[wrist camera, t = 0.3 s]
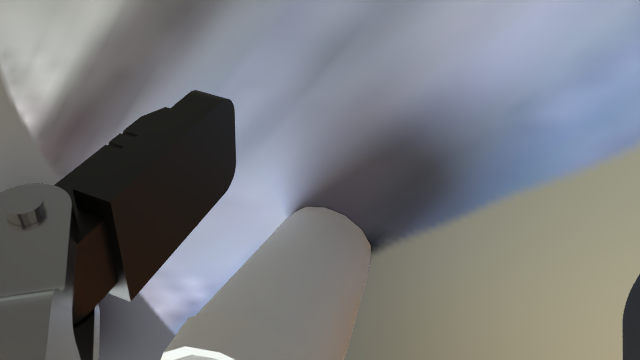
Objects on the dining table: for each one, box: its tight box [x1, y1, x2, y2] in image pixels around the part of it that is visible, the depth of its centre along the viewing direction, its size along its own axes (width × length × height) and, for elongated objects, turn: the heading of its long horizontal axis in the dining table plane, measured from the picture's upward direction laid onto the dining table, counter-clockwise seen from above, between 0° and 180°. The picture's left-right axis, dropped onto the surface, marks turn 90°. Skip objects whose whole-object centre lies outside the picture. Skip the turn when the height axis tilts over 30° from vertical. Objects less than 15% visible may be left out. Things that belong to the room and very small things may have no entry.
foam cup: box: [161, 207, 371, 360], centre depth 36 cm, size 10×9×13 cm
